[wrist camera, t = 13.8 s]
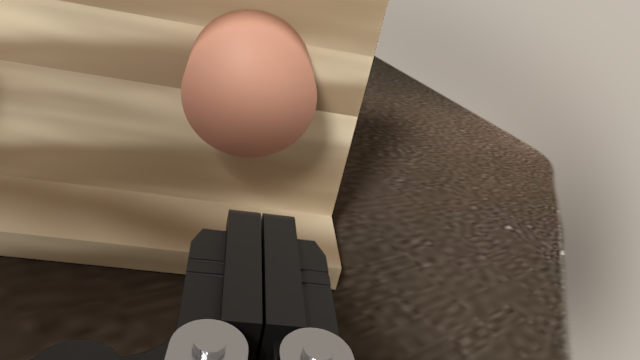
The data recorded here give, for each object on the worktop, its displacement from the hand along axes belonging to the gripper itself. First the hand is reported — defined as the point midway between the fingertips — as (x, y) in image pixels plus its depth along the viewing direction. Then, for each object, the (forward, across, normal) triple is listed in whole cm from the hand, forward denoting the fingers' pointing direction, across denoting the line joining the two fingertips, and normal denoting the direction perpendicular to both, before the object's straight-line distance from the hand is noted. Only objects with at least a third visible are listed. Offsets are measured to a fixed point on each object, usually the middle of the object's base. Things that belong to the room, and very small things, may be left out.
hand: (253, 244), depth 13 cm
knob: (+16, 0, +3) cm, 16 cm away
